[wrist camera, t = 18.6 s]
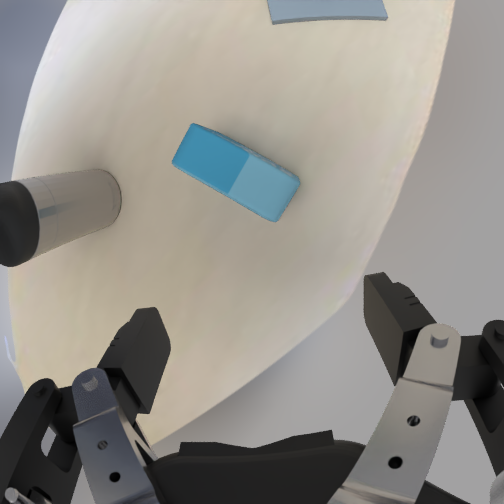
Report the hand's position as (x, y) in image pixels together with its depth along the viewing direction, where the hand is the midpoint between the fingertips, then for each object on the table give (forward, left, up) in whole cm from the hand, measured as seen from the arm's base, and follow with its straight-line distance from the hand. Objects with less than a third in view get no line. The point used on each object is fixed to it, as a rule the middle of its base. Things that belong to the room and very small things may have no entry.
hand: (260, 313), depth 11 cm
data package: (-4, +5, -29) cm, 30 cm away
